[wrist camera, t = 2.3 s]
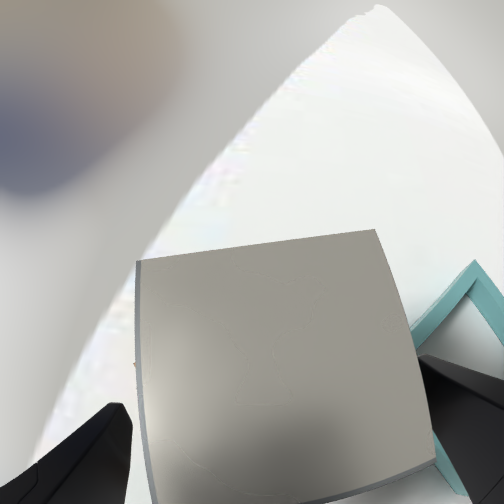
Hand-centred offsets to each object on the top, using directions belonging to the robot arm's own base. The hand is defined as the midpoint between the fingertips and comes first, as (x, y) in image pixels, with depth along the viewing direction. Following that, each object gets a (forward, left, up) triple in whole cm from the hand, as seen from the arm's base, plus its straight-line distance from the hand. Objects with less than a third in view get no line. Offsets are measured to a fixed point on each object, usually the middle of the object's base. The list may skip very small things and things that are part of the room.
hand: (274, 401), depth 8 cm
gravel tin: (0, 0, -8) cm, 8 cm away
